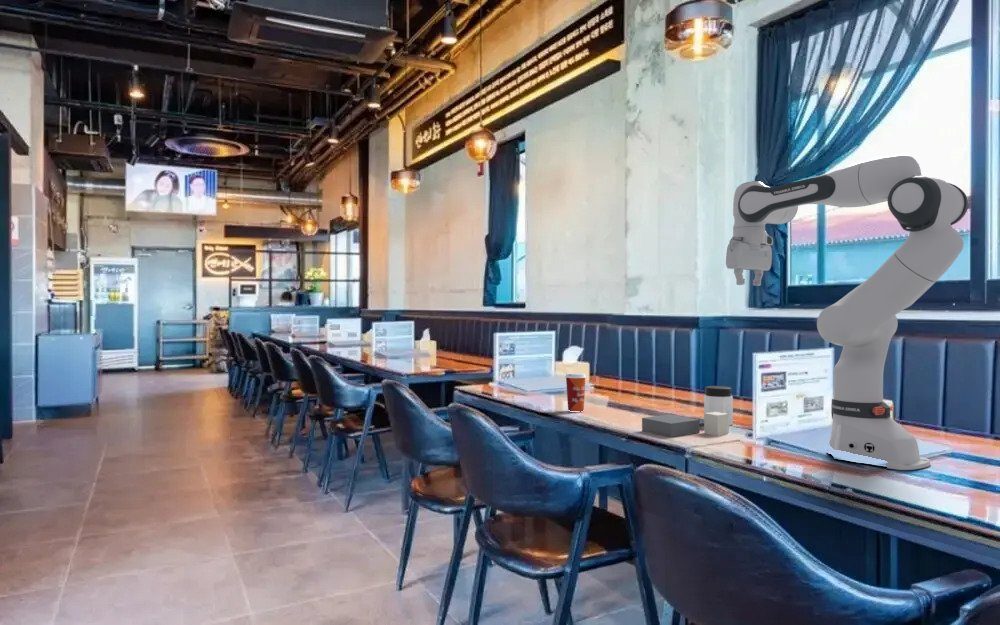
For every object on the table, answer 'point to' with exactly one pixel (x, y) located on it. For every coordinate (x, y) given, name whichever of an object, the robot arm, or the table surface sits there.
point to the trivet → (671, 425)
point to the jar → (719, 400)
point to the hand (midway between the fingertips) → (748, 285)
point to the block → (716, 423)
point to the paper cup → (575, 391)
